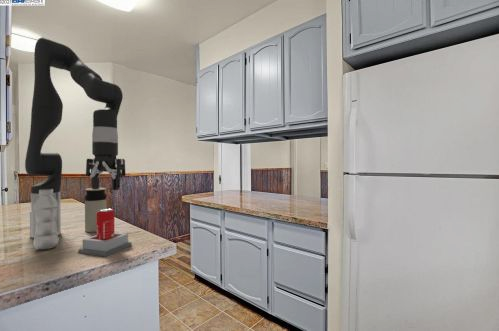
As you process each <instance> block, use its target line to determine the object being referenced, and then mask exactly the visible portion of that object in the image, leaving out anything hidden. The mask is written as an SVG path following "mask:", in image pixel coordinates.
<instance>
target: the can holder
mask: <svg viewBox="0 0 499 331" xmlns="http://www.w3.org/2000/svg"><path fill="white" fill-rule="evenodd" d="M131 246H132V241H129V234H128V233H125V232H123V233H122V232H121V233H120V232H114V238H111V239H109V240H97V234H95V235H93V236H89V237H85V238H83V239H82V247H81V248H78V254H83V255H84V254H85V255H91V256H92V255H93V256H100V257H101V256H102V257H108V256H110V255H112V254H114V253H115V254H116V253H117V252H119V251H121V250H124V249H126V248H128V247H131Z"/></svg>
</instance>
